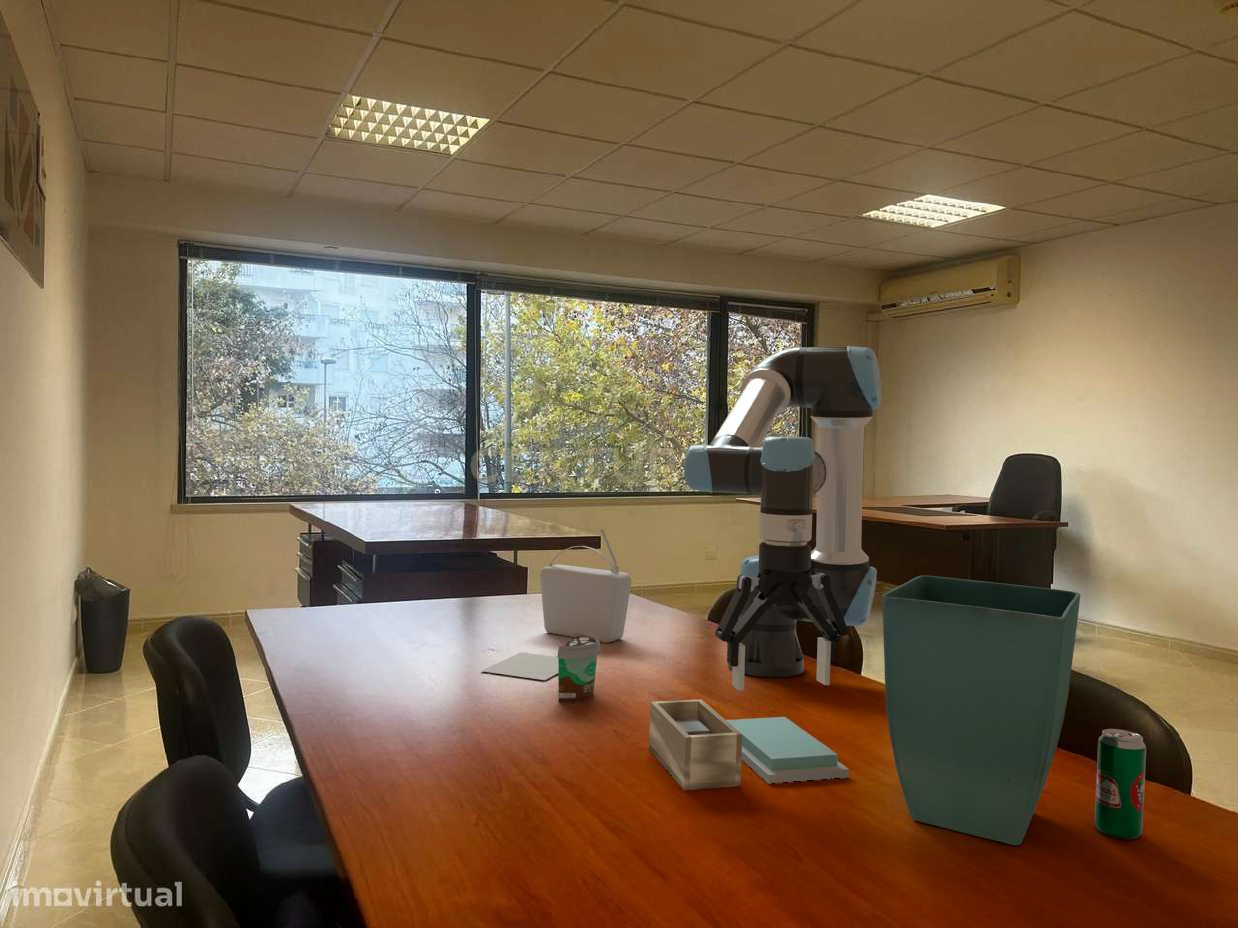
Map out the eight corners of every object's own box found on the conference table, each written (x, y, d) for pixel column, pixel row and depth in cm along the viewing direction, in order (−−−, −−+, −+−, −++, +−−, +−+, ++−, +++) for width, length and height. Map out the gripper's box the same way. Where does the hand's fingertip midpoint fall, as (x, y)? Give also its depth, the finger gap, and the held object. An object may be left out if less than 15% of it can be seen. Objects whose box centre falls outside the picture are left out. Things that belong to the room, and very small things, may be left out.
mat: (785, 730, 143) (786, 723, 143) (848, 777, 124) (848, 769, 124) (715, 735, 140) (715, 727, 140) (768, 783, 121) (768, 774, 121)
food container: (591, 707, 153) (592, 649, 153) (556, 704, 154) (557, 646, 154) (606, 688, 165) (608, 634, 165) (574, 685, 166) (575, 631, 166)
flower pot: (1052, 872, 98) (1064, 615, 97) (870, 825, 109) (879, 593, 108) (1071, 810, 115) (1081, 591, 114) (912, 775, 126) (920, 574, 125)
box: (699, 745, 135) (701, 699, 135) (740, 785, 120) (742, 734, 120) (648, 748, 133) (650, 701, 133) (683, 790, 118) (685, 737, 118)
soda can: (1085, 823, 111) (1089, 727, 111) (1124, 822, 112) (1128, 727, 111) (1111, 841, 106) (1115, 741, 106) (1151, 841, 107) (1156, 741, 106)
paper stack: (438, 668, 177) (438, 664, 176) (500, 642, 200) (500, 639, 200) (545, 683, 168) (545, 679, 168) (597, 654, 191) (597, 651, 191)
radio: (634, 639, 205) (637, 530, 205) (615, 645, 198) (618, 533, 198) (557, 626, 217) (560, 523, 216) (536, 631, 210) (539, 525, 209)
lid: (784, 726, 142) (784, 716, 142) (837, 765, 125) (837, 754, 125) (725, 730, 139) (725, 720, 139) (770, 770, 123) (771, 758, 123)
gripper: (714, 547, 124) (710, 698, 126) (875, 544, 131) (870, 687, 132) (695, 539, 132) (692, 682, 133) (849, 537, 138) (844, 673, 139)
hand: (780, 685), depth 132 cm, fingers open, 13 cm apart
